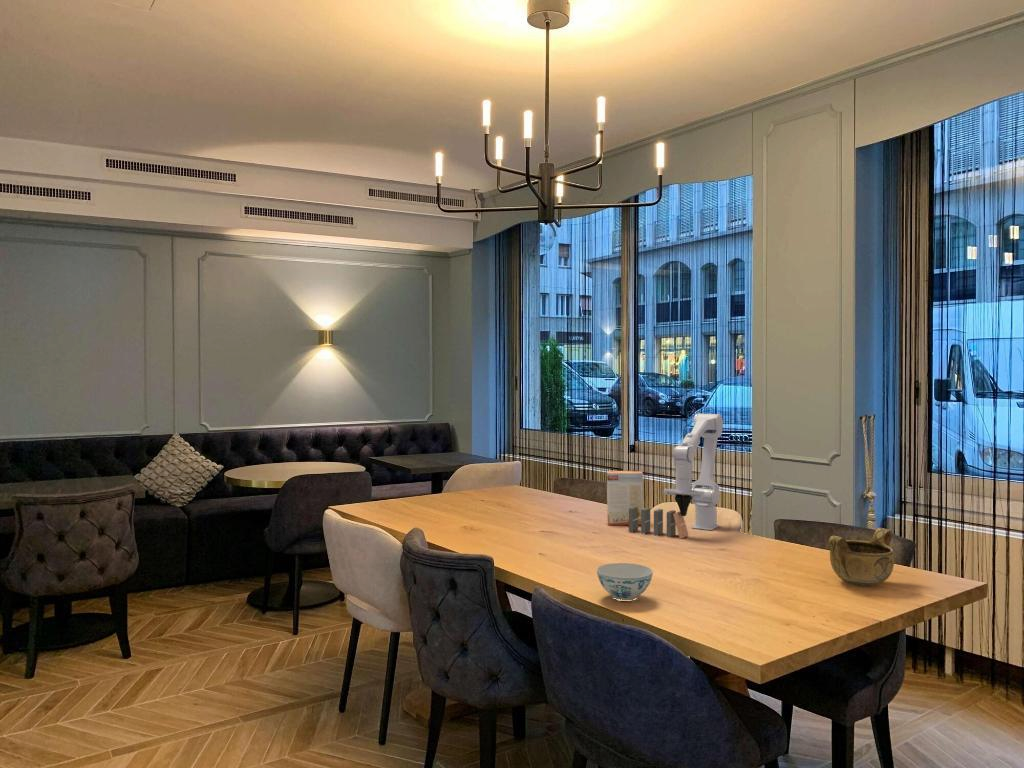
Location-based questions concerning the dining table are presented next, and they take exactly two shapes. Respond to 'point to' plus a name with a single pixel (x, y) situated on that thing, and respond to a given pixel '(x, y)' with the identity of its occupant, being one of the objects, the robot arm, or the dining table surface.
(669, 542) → the dining table surface
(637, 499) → the cracker box
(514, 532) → the dining table surface
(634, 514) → the end domino
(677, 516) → the terracotta domino
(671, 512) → the domino
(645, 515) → the domino
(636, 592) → the chinaware
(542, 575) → the dining table surface
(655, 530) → the domino
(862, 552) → the ceramic bowl
